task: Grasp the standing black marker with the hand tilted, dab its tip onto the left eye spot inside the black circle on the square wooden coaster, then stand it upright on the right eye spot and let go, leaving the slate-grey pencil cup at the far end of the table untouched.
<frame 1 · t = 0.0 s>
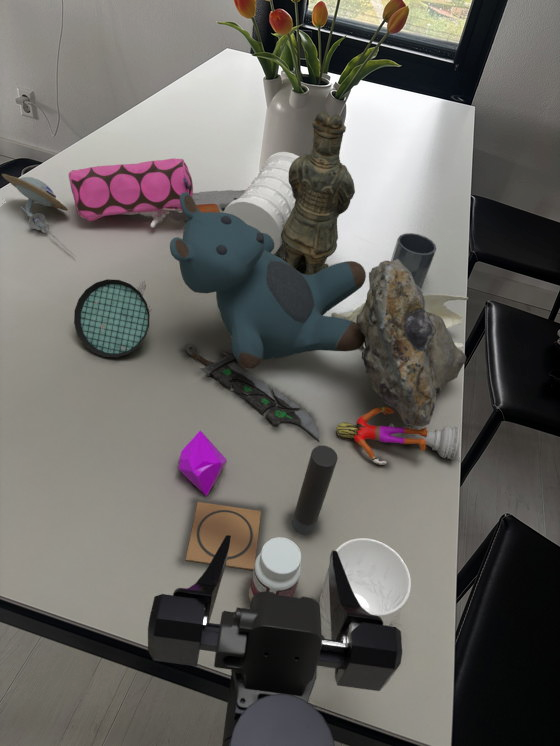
hand: (281, 545, 53), 15 cm above the table, tool horizontal, fingers open, 9 cm apart
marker: (303, 524, 73), on the table
stuffed animal: (317, 326, 94), point 4 cm above the table
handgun: (256, 235, 115), point 2 cm above the table, touching decorative container, pencil case
chess piece: (457, 444, 83), point 2 cm above the table, touching toy figure
pencil case: (129, 162, 110), point 10 cm above the table, touching decorative figure, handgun
decorative container: (250, 231, 107), point 6 cm above the table, touching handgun, statue
crystal: (201, 475, 76), on the table
statue: (302, 277, 110), on the table, touching decorative container
toy: (32, 239, 107), on the table
sword: (270, 376, 90), on the table
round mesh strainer: (111, 315, 87), point 5 cm above the table
square wooden coaster: (224, 535, 70), on the table
toy figure: (381, 437, 83), point 1 cm above the table, touching chess piece, rock
pencil cup: (402, 285, 113), on the table
clam shell: (394, 281, 99), point 8 cm above the table
decorative figure: (79, 200, 118), on the table, touching pencil case
pill bottle: (270, 596, 66), on the table
rock: (357, 356, 84), point 8 cm above the table, touching toy figure
white cup: (347, 622, 65), on the table
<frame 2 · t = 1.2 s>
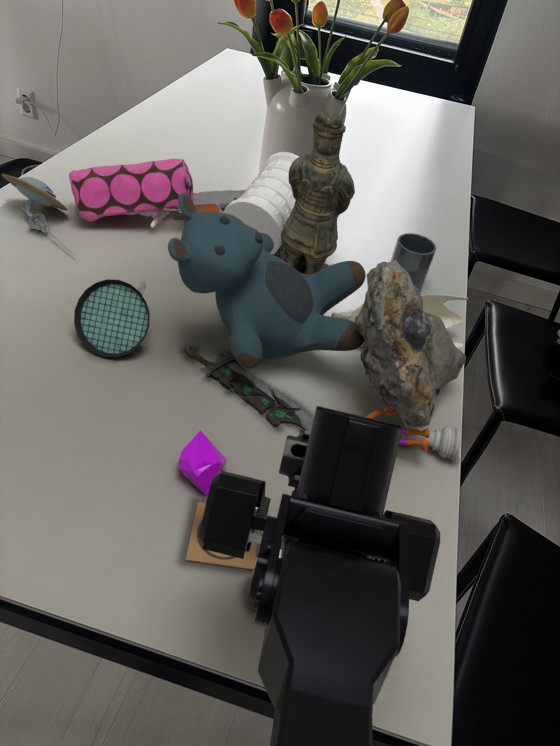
hand: (315, 515, 58), 13 cm above the table, tool tilted 45°, fingers open, 9 cm apart
stuffed animal: (317, 326, 94), point 4 cm above the table, touching rock
rock: (356, 357, 84), point 8 cm above the table, touching stuffed animal, toy figure
everything else where it was.
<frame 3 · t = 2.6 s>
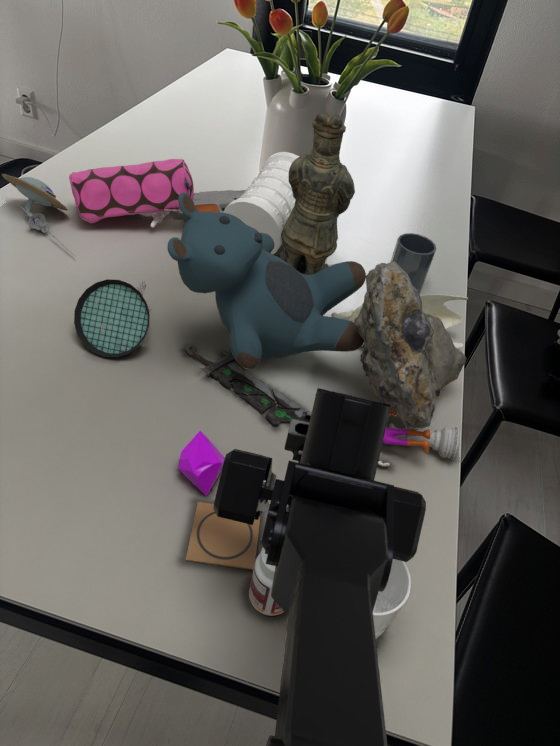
hand: (315, 490, 65), 10 cm above the table, tool tilted 45°, fingers open, 9 cm apart
stuffed animal: (317, 326, 93), point 4 cm above the table
toy figure: (384, 439, 83), point 1 cm above the table, touching chess piece
rock: (356, 359, 84), point 8 cm above the table
everything else where it was.
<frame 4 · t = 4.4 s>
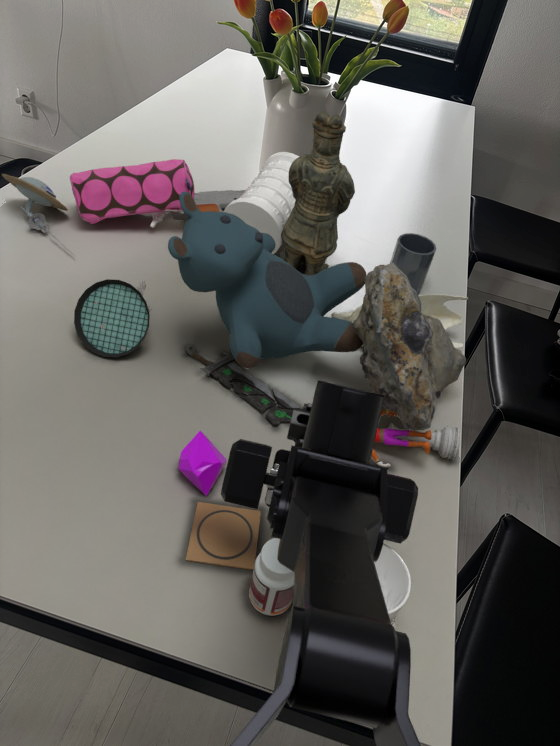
hand: (315, 479, 69), 7 cm above the table, tool tilted 45°, fingers closed on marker, 3 cm apart
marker: (303, 524, 73), on the table, touching gripper
toy figure: (385, 440, 83), point 1 cm above the table, touching chess piece, rock
rock: (355, 361, 83), point 8 cm above the table, touching toy figure
everything else where it was.
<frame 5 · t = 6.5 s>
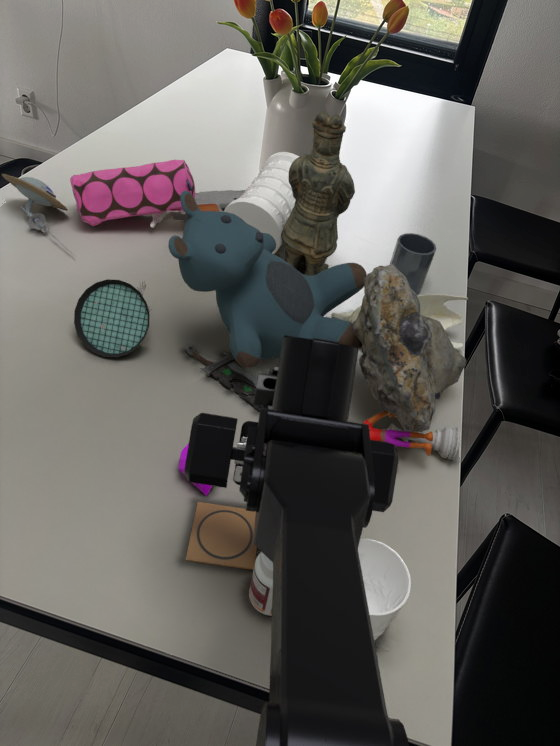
hand: (286, 453, 64), 13 cm above the table, tool tilted 45°, fingers closed on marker, 3 cm apart
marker: (276, 503, 68), point 6 cm above the table, touching gripper
stuffed animal: (317, 327, 93), point 4 cm above the table, touching rock
toy figure: (386, 441, 83), point 1 cm above the table, touching chess piece, rock
rock: (354, 362, 83), point 8 cm above the table, touching stuffed animal, toy figure
everything else where it was.
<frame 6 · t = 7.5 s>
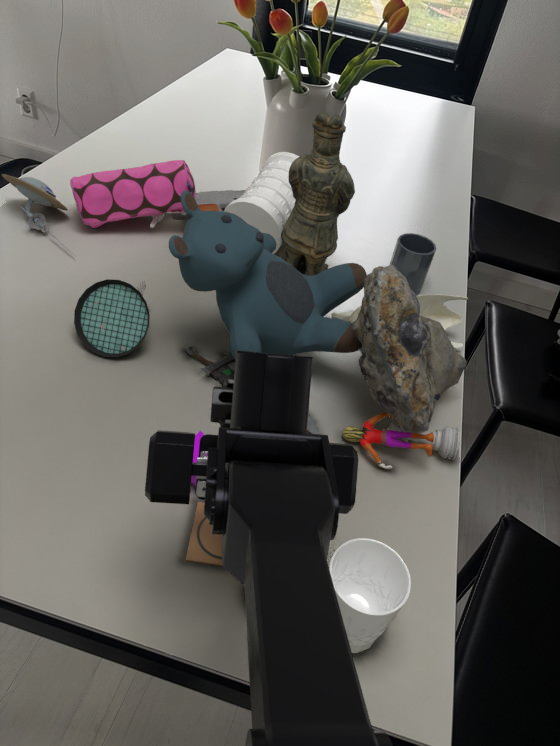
hand: (246, 461, 64), 12 cm above the table, tool tilted 45°, fingers closed on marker, 3 cm apart
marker: (239, 511, 68), point 5 cm above the table, touching gripper
toy figure: (387, 442, 83), point 1 cm above the table, touching chess piece, rock
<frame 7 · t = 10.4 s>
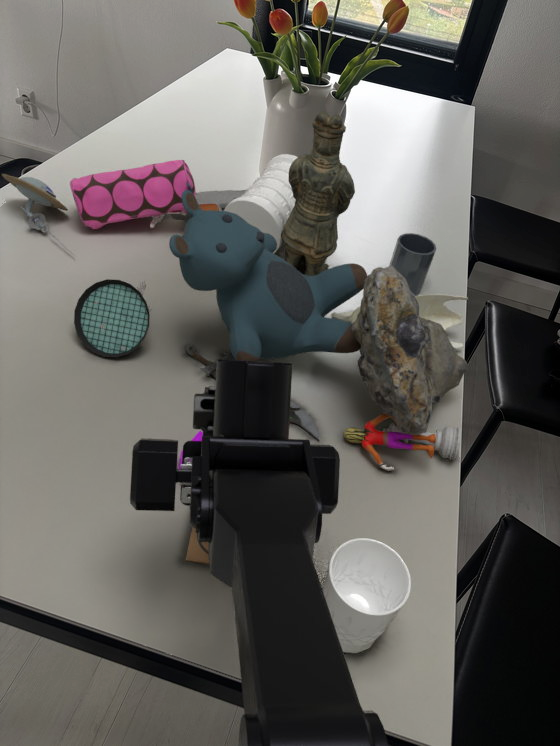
hand: (229, 464, 64), 11 cm above the table, tool tilted 45°, fingers closed on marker, 3 cm apart
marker: (224, 515, 68), point 3 cm above the table, touching gripper
when the fingers open (7 cm above the table, at t = 12.1 s): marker stays where it is, resting on square wooden coaster.
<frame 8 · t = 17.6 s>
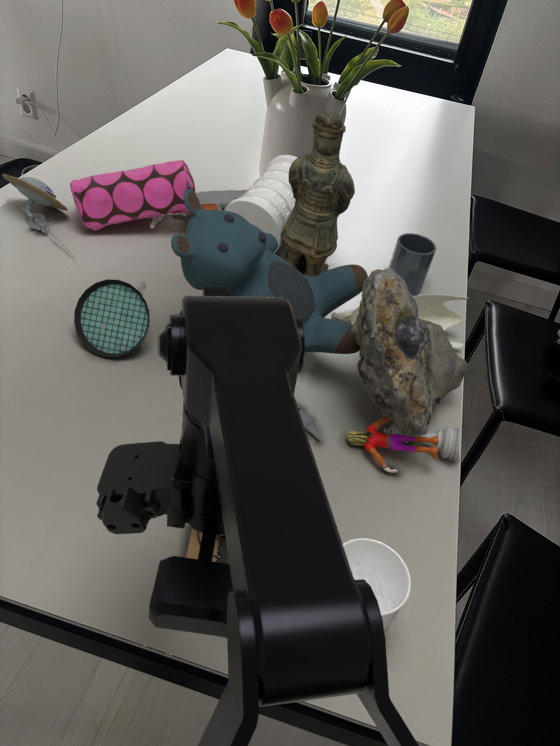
hand: (207, 563, 53), 13 cm above the table, tool pointing down, fingers open, 9 cm apart
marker: (215, 530, 70), resting on square wooden coaster
pencil case: (129, 167, 109), point 11 cm above the table, touching decorative figure, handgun
rock: (353, 366, 83), point 8 cm above the table, touching stuffed animal, toy figure
everything else where it was.
at the end: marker 1.2 cm off-centre on the square wooden coaster, point 0.4 cm above the square wooden coaster's base; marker tilted 0°; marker touching square wooden coaster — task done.
